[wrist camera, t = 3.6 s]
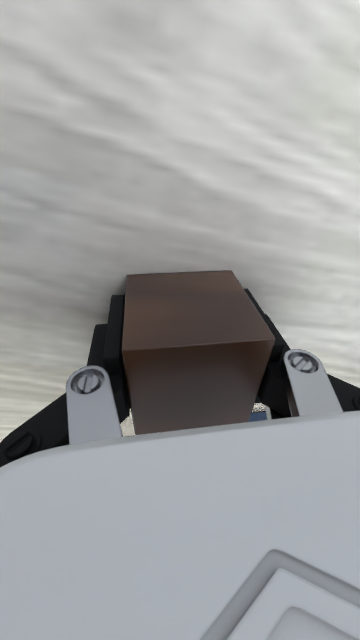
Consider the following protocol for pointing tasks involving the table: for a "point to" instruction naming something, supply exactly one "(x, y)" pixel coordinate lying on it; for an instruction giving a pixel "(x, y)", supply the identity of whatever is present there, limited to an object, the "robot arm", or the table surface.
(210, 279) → the block
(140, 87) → the table surface
